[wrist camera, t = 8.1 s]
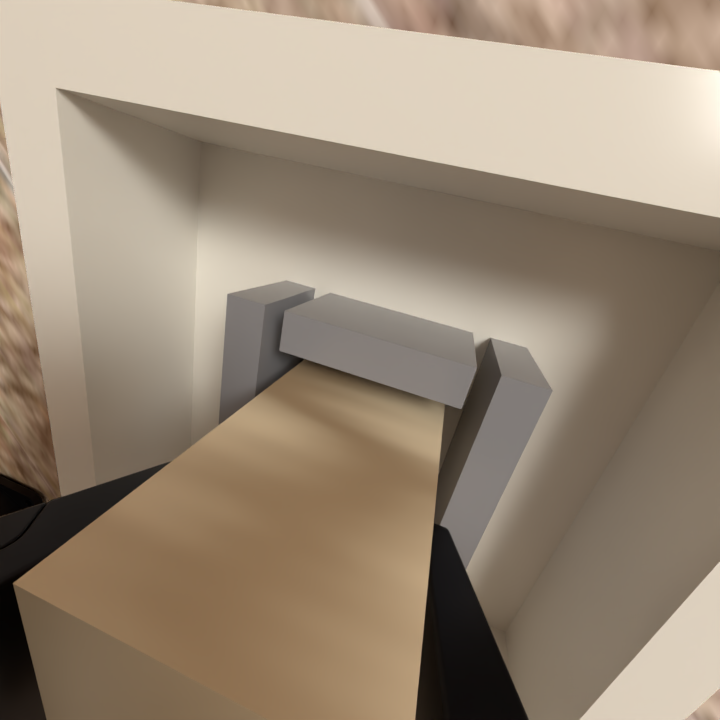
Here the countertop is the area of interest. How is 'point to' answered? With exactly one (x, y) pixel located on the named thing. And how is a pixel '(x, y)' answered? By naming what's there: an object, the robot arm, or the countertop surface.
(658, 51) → the countertop surface
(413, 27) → the countertop surface
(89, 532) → the wooden block
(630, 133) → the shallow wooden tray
